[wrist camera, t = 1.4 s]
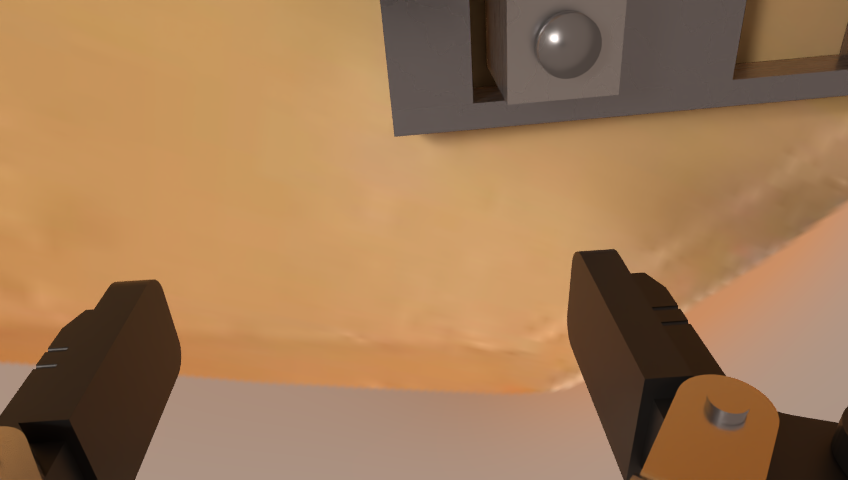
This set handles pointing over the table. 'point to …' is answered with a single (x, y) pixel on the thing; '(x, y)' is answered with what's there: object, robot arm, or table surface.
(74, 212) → the table surface
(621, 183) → the table surface
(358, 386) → the table surface
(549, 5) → the knobbed grey cube
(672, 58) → the grey slotted board
